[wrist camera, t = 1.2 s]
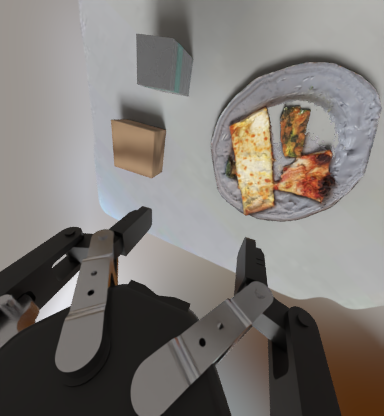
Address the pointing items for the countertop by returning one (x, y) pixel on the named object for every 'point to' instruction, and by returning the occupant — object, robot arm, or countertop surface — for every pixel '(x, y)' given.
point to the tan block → (138, 147)
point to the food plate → (294, 142)
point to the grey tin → (163, 64)
